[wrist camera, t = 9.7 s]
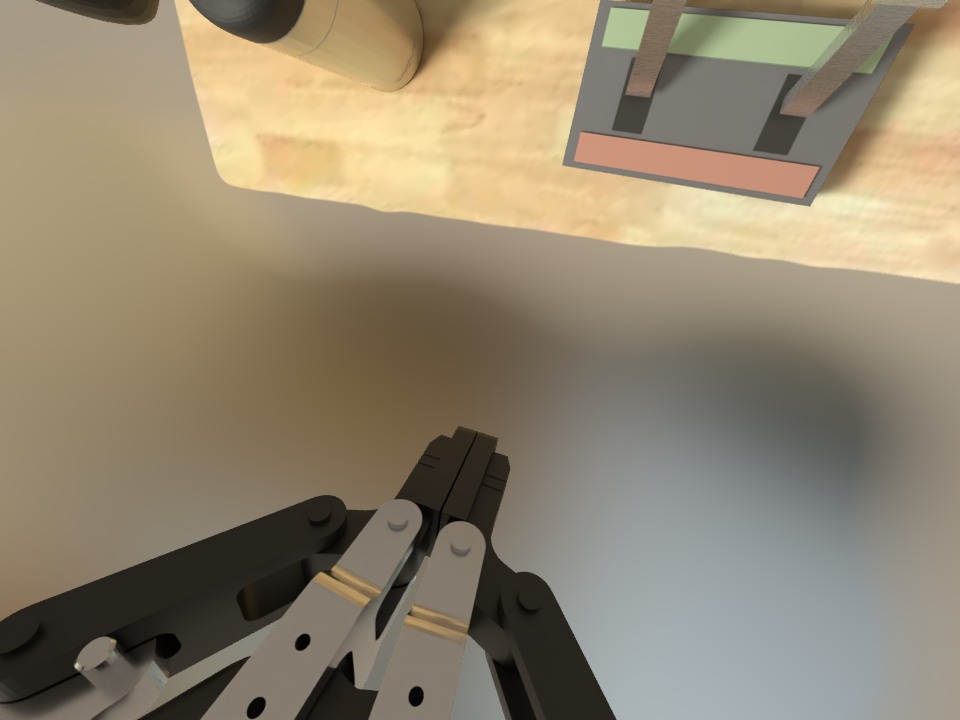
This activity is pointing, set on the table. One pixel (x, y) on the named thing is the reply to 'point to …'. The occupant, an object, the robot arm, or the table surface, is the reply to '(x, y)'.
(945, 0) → the switch lever
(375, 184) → the table surface
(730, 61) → the switch box
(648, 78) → the lever on
